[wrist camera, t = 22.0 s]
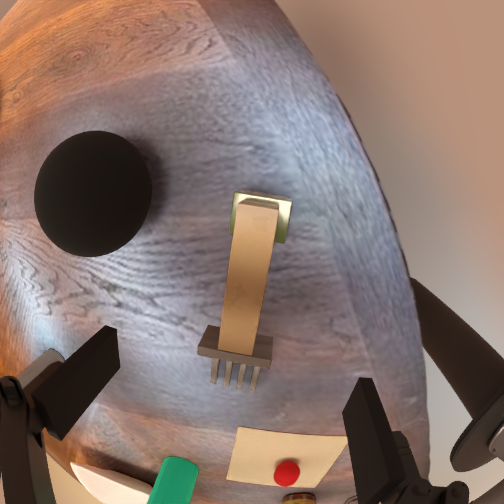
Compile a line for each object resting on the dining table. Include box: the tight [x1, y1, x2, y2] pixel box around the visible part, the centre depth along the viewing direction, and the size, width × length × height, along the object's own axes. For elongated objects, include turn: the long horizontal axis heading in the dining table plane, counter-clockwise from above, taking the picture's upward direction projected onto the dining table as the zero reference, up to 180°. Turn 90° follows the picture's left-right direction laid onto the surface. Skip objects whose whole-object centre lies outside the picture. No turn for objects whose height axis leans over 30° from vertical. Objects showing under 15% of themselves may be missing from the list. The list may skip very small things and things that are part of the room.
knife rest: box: [228, 190, 293, 244], centre depth 21 cm, size 4×3×4 cm
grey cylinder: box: [16, 349, 65, 389], centre depth 26 cm, size 4×4×10 cm
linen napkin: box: [226, 426, 348, 488], centre depth 32 cm, size 15×16×1 cm
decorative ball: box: [34, 131, 152, 257], centre depth 19 cm, size 10×10×10 cm
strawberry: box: [273, 461, 300, 487], centre depth 30 cm, size 4×5×4 cm
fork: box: [197, 200, 279, 391], centre depth 22 cm, size 19×5×8 cm, turn 171°
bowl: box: [71, 462, 153, 504], centre depth 36 cm, size 22×23×6 cm
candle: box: [147, 457, 199, 504], centre depth 29 cm, size 6×6×12 cm
